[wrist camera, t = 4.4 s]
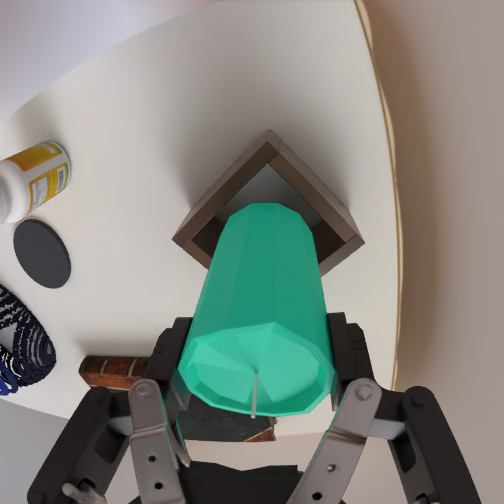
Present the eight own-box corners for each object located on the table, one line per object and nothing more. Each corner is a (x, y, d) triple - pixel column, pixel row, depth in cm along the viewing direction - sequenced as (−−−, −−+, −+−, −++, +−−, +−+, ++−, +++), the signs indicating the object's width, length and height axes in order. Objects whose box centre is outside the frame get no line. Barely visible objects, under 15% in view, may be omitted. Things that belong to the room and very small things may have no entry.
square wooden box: (190, 209, 26) (171, 239, 21) (269, 128, 22) (267, 140, 18) (269, 277, 29) (267, 316, 24) (349, 211, 25) (365, 243, 20)
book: (136, 417, 47) (277, 422, 43) (130, 433, 44) (276, 442, 40) (85, 353, 39) (256, 351, 34) (75, 371, 36) (253, 376, 31)
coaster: (10, 253, 31) (7, 255, 30) (26, 204, 27) (23, 206, 27) (58, 297, 33) (56, 300, 33) (81, 255, 30) (78, 258, 29)
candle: (332, 243, 20) (373, 411, 9) (269, 297, 22) (259, 458, 12) (262, 181, 18) (241, 335, 8) (201, 247, 20) (140, 406, 10)
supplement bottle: (27, 155, 24) (-41, 190, 16) (59, 130, 23) (-16, 161, 15) (47, 200, 27) (-15, 246, 18) (80, 180, 25) (14, 226, 17)
